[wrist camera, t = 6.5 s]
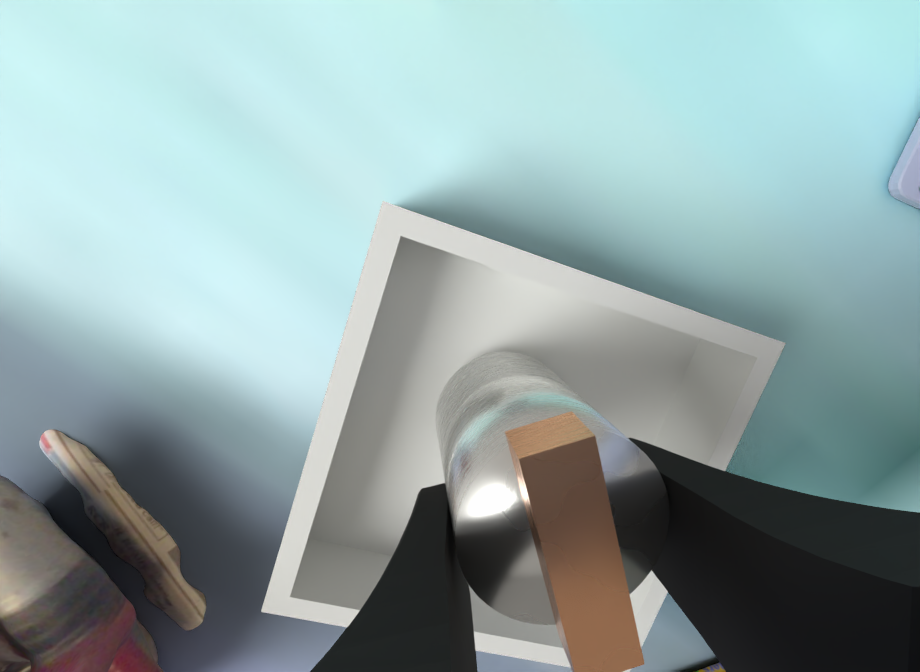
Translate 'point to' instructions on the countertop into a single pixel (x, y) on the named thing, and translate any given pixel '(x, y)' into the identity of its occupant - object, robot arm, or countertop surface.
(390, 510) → the parts tray
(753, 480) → the robot arm
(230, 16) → the countertop surface
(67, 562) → the brake caliper
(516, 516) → the silver cylinder copper tab
